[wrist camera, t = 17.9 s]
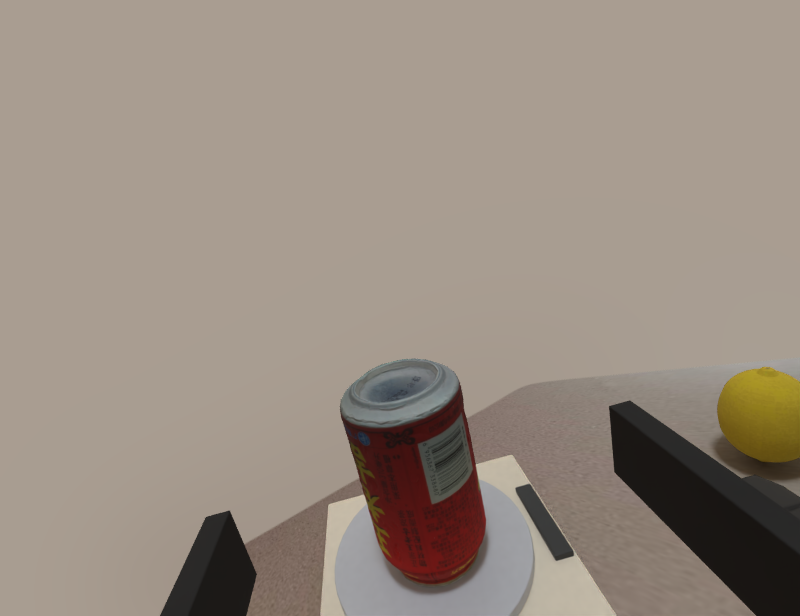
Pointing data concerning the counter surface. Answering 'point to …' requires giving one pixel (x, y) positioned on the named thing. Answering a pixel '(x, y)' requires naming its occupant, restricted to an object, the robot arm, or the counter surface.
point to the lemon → (762, 414)
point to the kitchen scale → (488, 578)
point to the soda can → (417, 468)
